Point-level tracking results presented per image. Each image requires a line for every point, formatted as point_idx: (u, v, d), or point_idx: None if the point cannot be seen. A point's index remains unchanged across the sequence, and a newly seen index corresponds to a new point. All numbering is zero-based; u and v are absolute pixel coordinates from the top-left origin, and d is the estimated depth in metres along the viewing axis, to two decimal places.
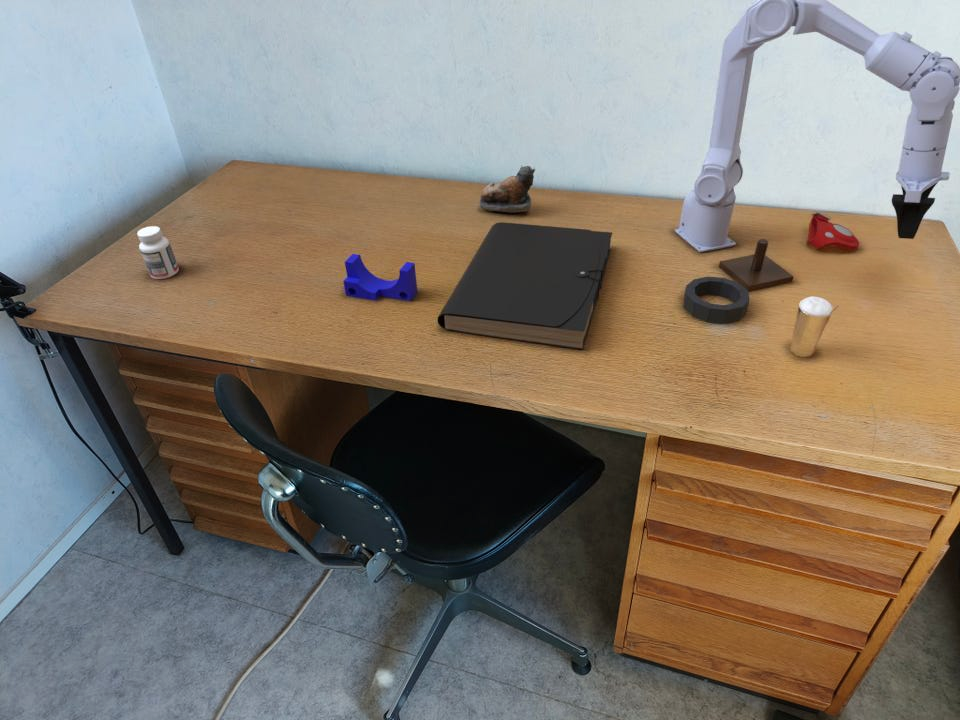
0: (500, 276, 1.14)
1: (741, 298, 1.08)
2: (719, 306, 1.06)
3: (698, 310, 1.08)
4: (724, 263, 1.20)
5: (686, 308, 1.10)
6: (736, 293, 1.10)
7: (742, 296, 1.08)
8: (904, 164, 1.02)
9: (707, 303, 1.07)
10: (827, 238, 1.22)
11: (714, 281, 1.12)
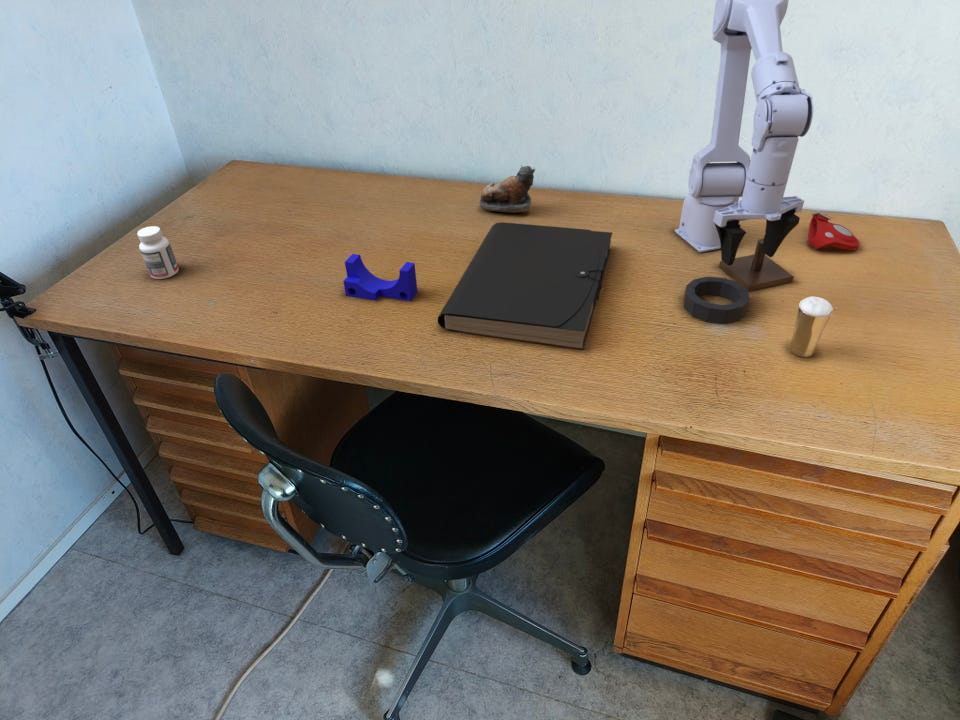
0: (500, 276, 1.14)
1: (741, 298, 1.08)
2: (719, 306, 1.06)
3: (698, 310, 1.08)
4: (724, 263, 1.20)
5: (686, 308, 1.10)
6: (736, 293, 1.10)
7: (742, 296, 1.08)
8: None
9: (707, 303, 1.07)
10: (827, 238, 1.22)
11: (714, 281, 1.12)
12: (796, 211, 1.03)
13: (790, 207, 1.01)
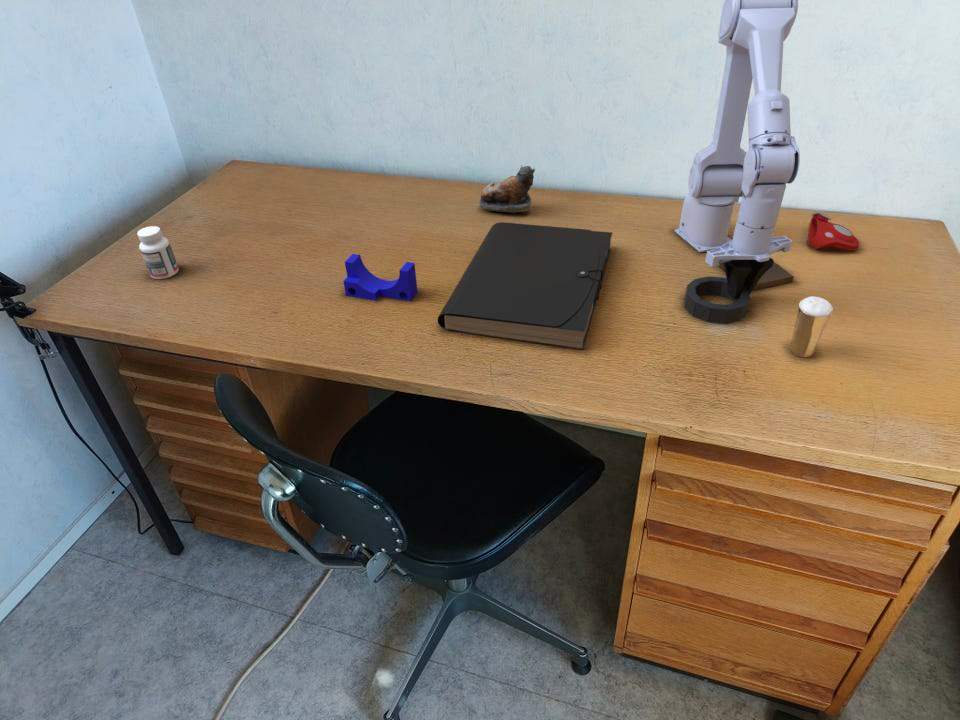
0: (500, 276, 1.14)
1: (742, 298, 1.08)
2: (719, 306, 1.06)
3: (699, 310, 1.08)
4: None
5: (687, 308, 1.10)
6: None
7: (743, 296, 1.08)
8: None
9: (708, 303, 1.07)
10: (827, 238, 1.22)
11: (715, 281, 1.12)
12: (785, 251, 1.07)
13: (779, 248, 1.05)
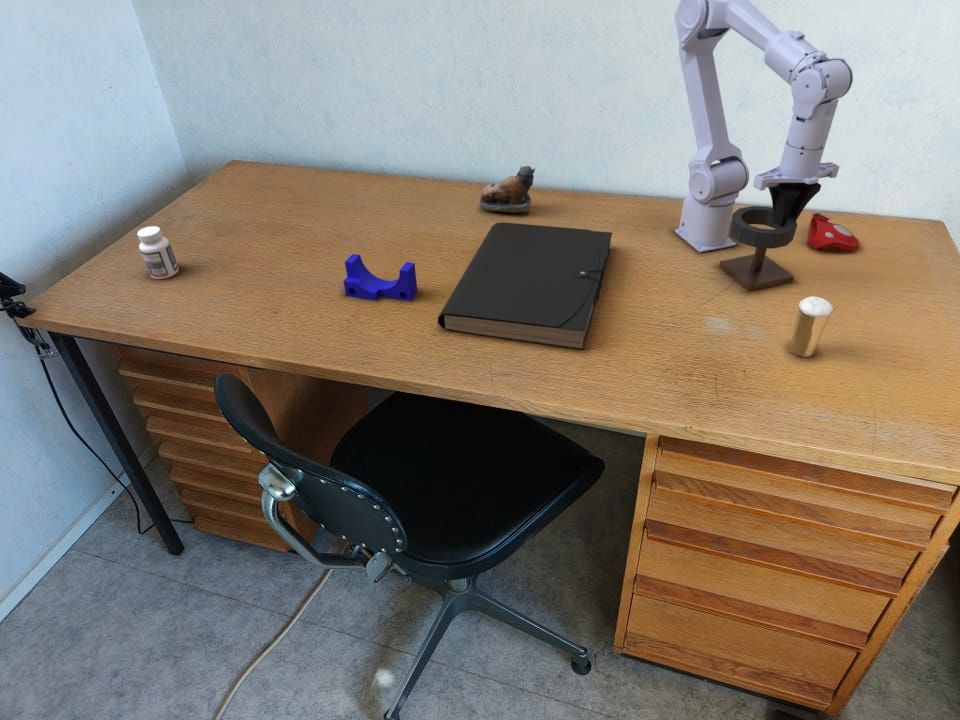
0: (500, 276, 1.14)
1: (789, 224, 1.09)
2: (767, 230, 1.07)
3: (746, 235, 1.08)
4: (724, 263, 1.20)
5: (733, 235, 1.11)
6: None
7: (789, 222, 1.09)
8: None
9: (755, 228, 1.08)
10: (827, 238, 1.22)
11: (760, 210, 1.13)
12: (831, 176, 1.08)
13: (826, 172, 1.06)
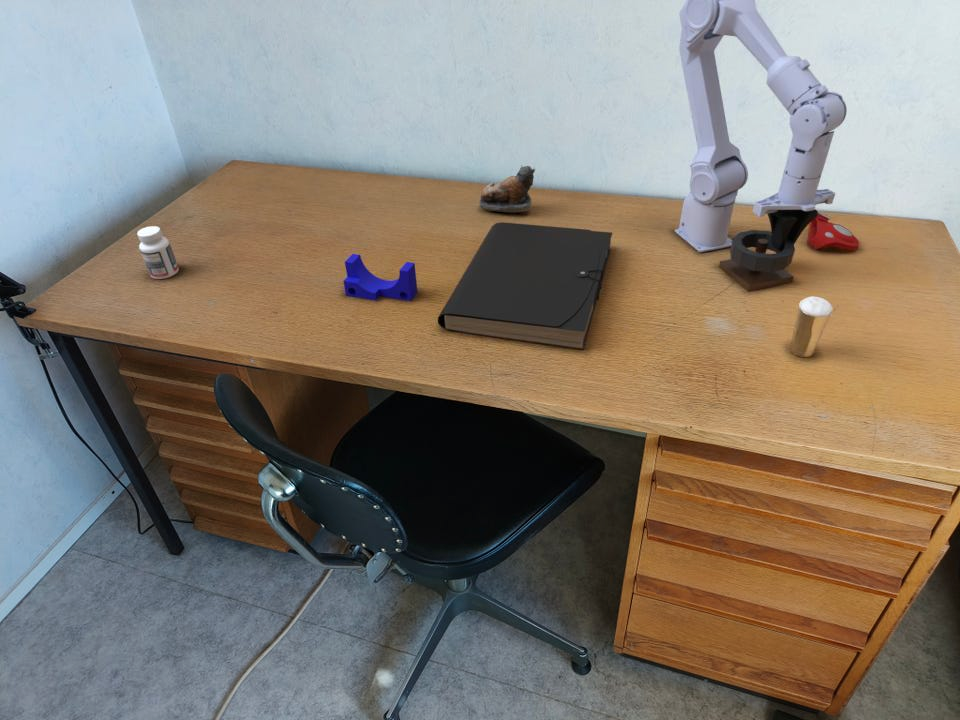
0: (500, 276, 1.14)
1: (787, 248, 1.13)
2: (766, 255, 1.12)
3: (746, 259, 1.13)
4: (724, 263, 1.20)
5: (733, 259, 1.16)
6: None
7: (788, 246, 1.14)
8: None
9: (755, 252, 1.12)
10: (827, 238, 1.22)
11: (759, 234, 1.18)
12: (828, 203, 1.13)
13: (823, 199, 1.11)
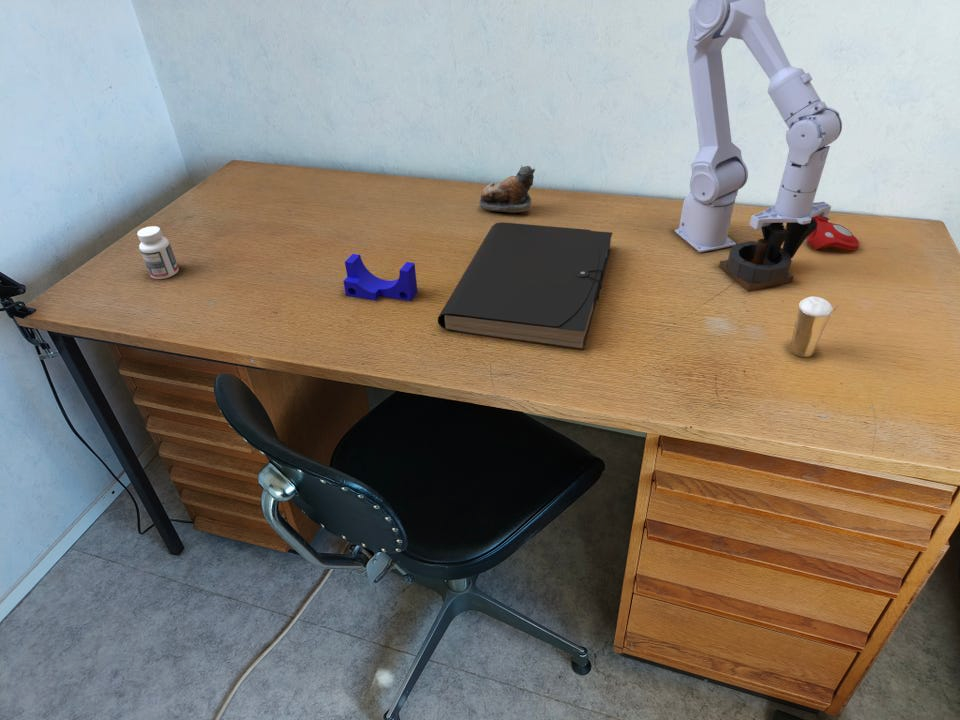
0: (500, 276, 1.14)
1: (783, 260, 1.15)
2: (763, 266, 1.13)
3: (743, 271, 1.15)
4: (724, 263, 1.20)
5: (731, 270, 1.17)
6: (778, 256, 1.17)
7: (784, 258, 1.15)
8: (777, 195, 1.12)
9: (752, 264, 1.14)
10: (827, 238, 1.22)
11: (756, 245, 1.19)
12: (824, 215, 1.14)
13: (819, 212, 1.12)
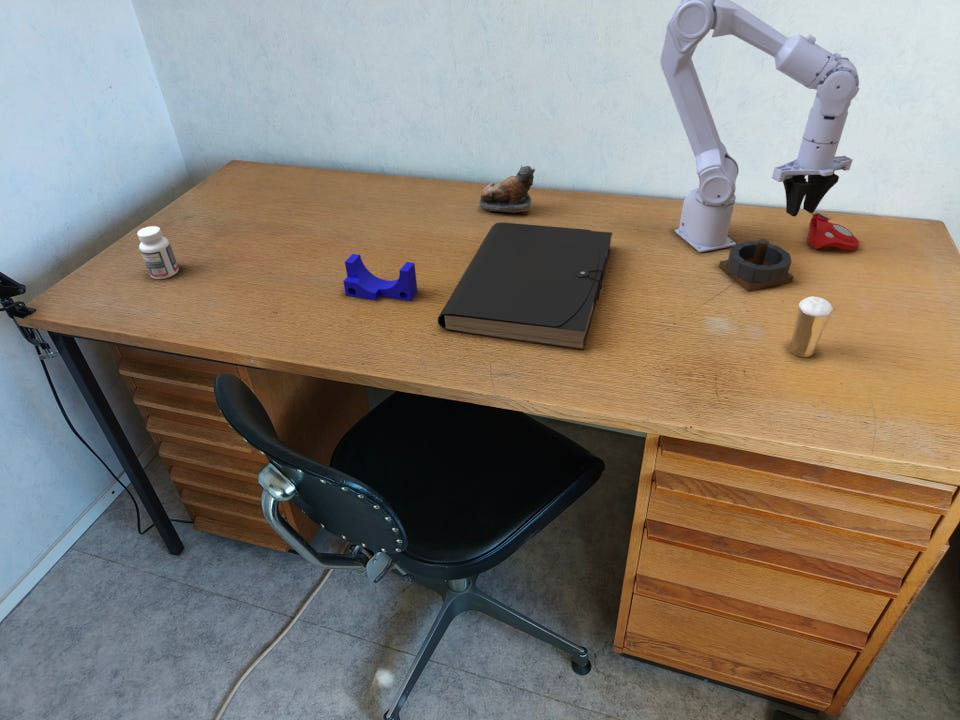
0: (500, 276, 1.14)
1: (783, 260, 1.15)
2: (763, 266, 1.13)
3: (743, 271, 1.15)
4: (724, 263, 1.20)
5: (731, 270, 1.17)
6: (778, 256, 1.17)
7: (784, 258, 1.15)
8: None
9: (752, 264, 1.14)
10: (827, 238, 1.22)
11: (756, 245, 1.19)
12: (845, 169, 1.16)
13: (840, 165, 1.14)
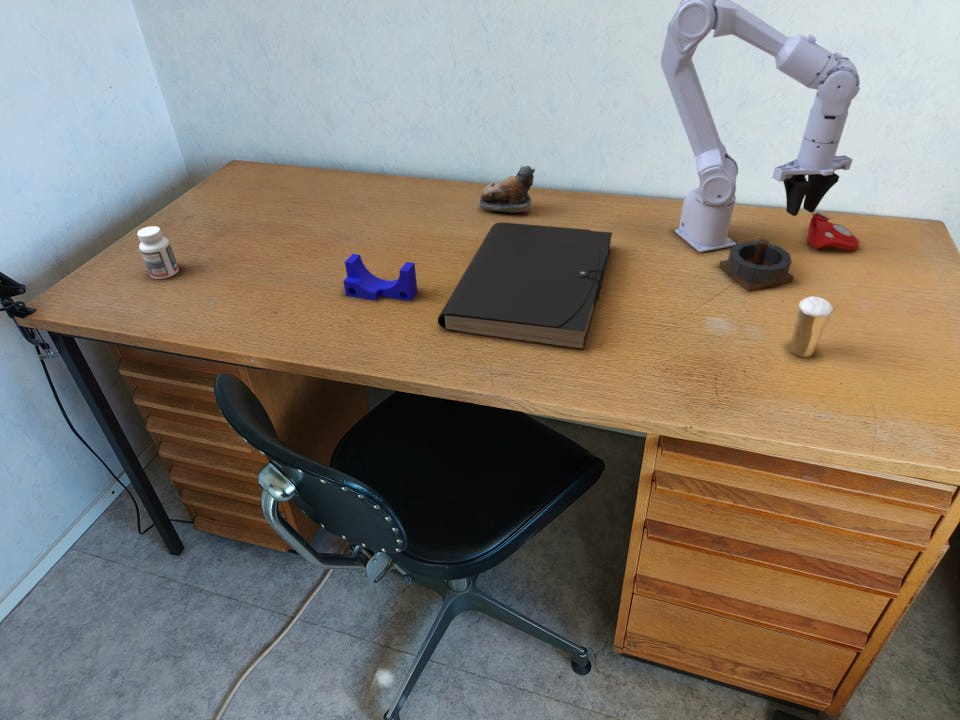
0: (500, 276, 1.14)
1: (783, 260, 1.15)
2: (763, 266, 1.13)
3: (743, 271, 1.15)
4: (724, 263, 1.20)
5: (731, 270, 1.17)
6: (778, 256, 1.17)
7: (784, 258, 1.15)
8: None
9: (752, 264, 1.14)
10: (827, 238, 1.22)
11: (756, 245, 1.19)
12: (845, 168, 1.16)
13: (841, 164, 1.14)
